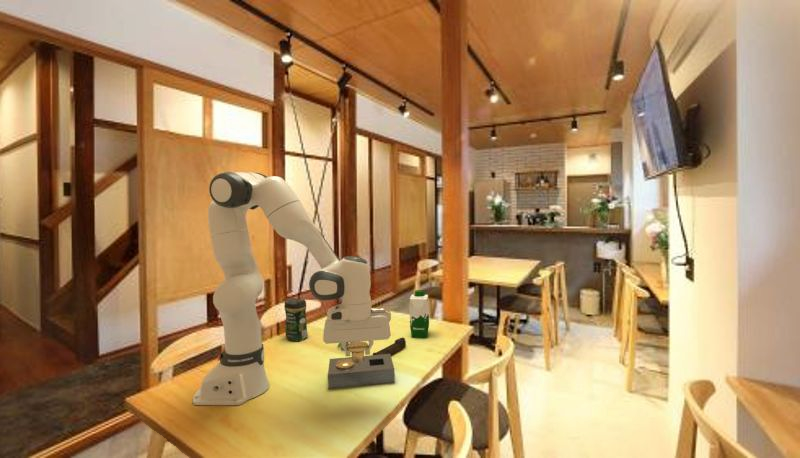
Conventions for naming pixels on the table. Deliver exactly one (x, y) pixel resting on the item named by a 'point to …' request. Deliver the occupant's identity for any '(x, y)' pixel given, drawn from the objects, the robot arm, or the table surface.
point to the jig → (360, 371)
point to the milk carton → (419, 314)
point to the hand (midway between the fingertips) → (357, 354)
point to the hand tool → (393, 347)
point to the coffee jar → (295, 319)
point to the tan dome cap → (357, 351)
